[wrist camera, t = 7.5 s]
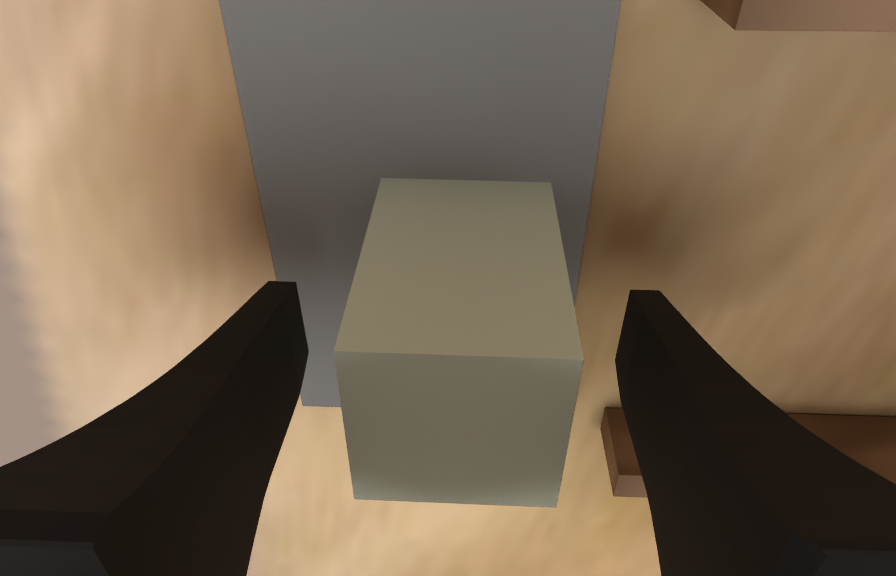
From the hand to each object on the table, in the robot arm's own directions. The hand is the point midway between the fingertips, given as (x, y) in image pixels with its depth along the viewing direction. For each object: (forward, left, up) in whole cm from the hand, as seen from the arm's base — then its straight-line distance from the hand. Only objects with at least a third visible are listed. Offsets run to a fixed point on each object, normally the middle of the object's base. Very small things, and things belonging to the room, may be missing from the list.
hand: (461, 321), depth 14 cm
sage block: (0, 0, -3) cm, 3 cm away
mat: (+1, 0, -3) cm, 3 cm away
